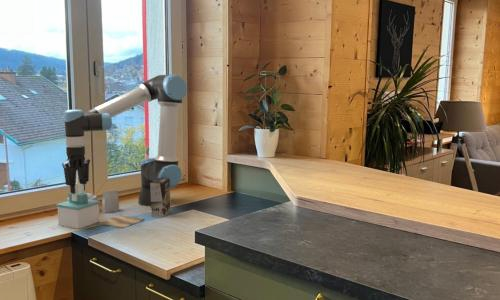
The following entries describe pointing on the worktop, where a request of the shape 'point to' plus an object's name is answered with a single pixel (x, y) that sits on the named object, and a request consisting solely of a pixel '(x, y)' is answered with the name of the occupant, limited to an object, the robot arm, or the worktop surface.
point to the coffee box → (160, 197)
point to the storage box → (78, 216)
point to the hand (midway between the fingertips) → (78, 199)
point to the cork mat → (121, 221)
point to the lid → (78, 202)
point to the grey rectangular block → (110, 201)
